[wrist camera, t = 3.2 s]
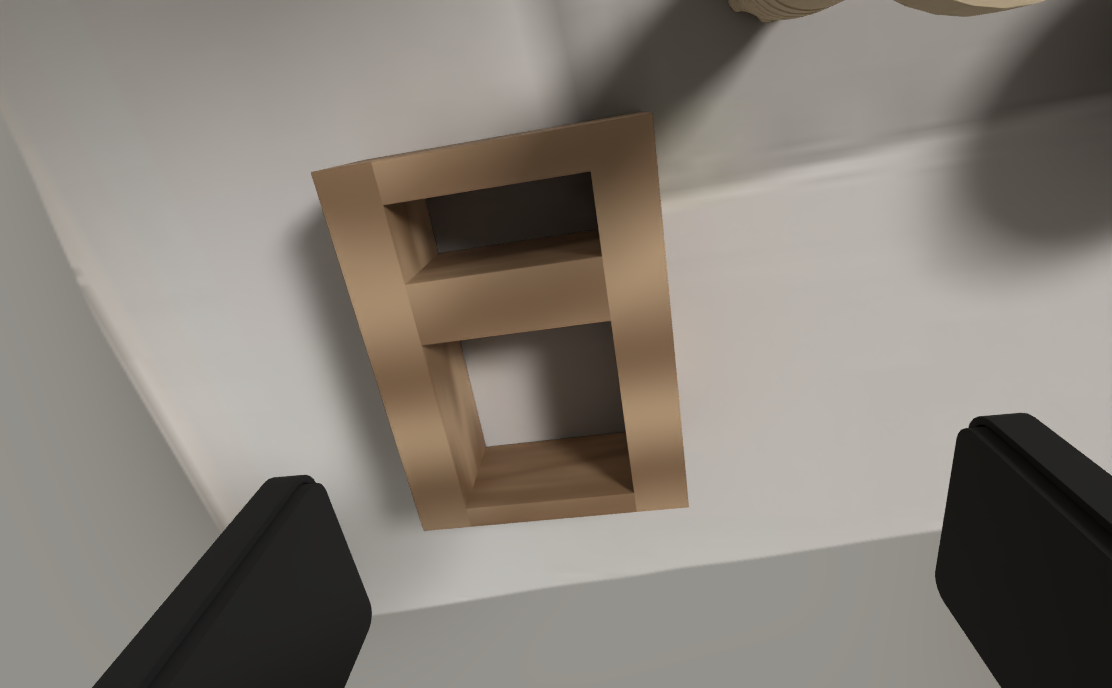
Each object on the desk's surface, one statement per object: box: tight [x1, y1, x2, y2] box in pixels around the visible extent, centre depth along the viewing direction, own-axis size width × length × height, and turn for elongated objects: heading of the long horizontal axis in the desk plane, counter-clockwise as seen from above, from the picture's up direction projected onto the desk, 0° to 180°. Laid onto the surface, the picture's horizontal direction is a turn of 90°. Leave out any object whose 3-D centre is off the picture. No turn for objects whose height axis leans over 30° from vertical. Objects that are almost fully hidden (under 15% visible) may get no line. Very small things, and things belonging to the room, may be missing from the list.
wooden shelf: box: [311, 112, 689, 531], centre depth 25 cm, size 16×12×5 cm
